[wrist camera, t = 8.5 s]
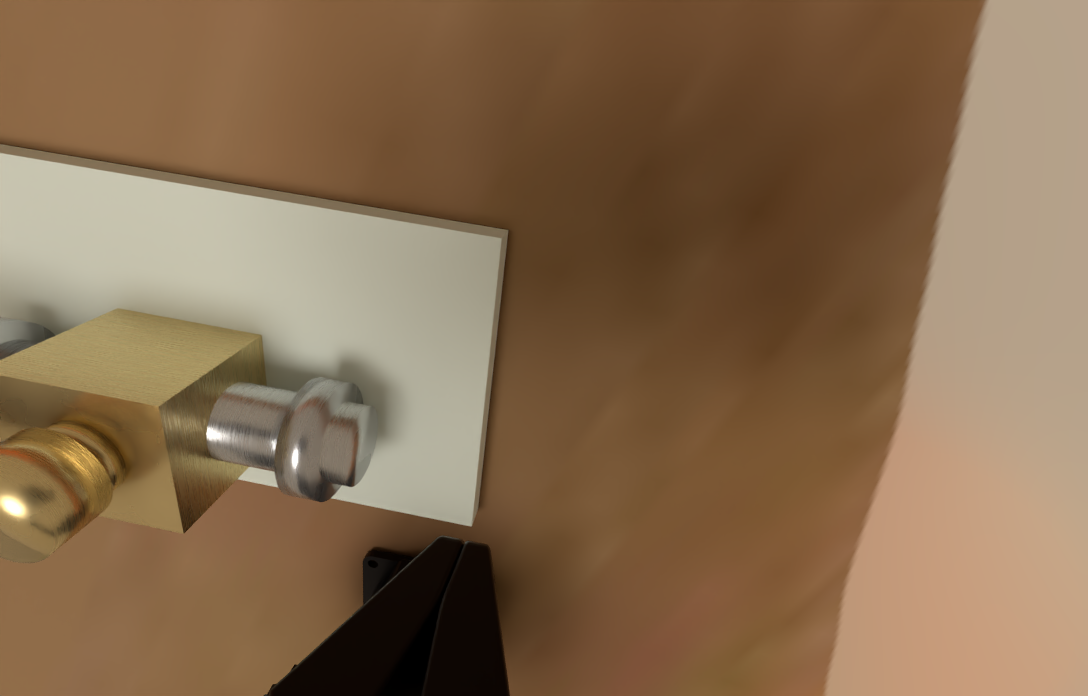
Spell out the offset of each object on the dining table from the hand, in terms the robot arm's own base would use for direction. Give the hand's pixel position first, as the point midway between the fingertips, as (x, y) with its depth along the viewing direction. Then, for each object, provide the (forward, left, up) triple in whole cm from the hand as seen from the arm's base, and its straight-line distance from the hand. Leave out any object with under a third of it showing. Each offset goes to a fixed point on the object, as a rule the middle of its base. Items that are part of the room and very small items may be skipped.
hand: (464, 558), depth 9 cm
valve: (-6, +14, -12) cm, 19 cm away
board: (-4, +14, -13) cm, 20 cm away
